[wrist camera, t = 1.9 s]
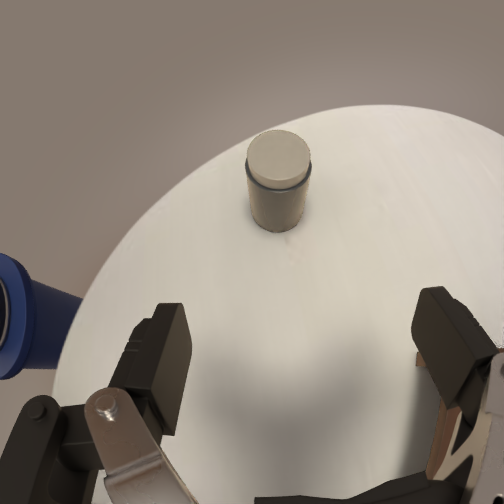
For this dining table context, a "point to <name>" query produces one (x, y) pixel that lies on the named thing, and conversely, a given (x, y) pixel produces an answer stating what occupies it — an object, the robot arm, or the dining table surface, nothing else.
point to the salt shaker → (277, 179)
